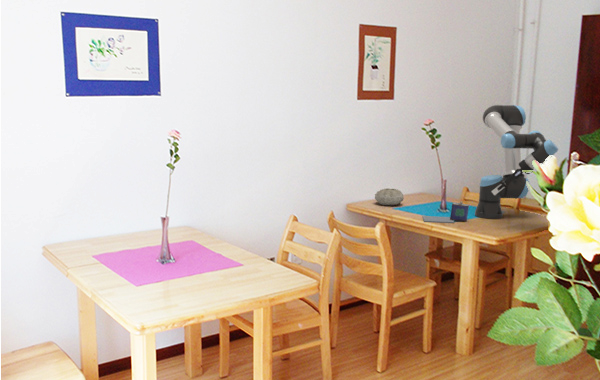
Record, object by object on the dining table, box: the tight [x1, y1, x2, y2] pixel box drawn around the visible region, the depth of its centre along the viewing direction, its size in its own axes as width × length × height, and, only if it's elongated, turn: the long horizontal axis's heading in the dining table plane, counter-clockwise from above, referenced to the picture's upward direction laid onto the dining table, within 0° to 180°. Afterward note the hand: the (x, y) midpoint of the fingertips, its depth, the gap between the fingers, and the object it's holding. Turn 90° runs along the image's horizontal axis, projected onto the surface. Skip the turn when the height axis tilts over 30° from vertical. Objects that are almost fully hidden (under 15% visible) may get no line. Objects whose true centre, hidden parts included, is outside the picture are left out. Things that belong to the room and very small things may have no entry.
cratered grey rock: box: [374, 188, 405, 206], centre depth 362 cm, size 18×18×10 cm
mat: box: [422, 215, 455, 224], centre depth 320 cm, size 16×13×1 cm
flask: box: [449, 201, 470, 222], centre depth 318 cm, size 9×3×11 cm, turn 88°
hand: (494, 192), depth 309 cm, fingers open, 8 cm apart
